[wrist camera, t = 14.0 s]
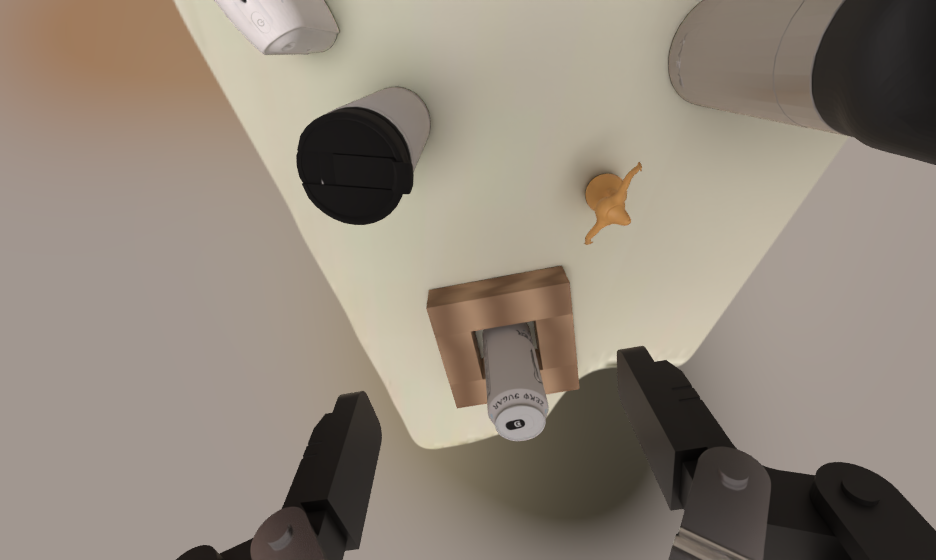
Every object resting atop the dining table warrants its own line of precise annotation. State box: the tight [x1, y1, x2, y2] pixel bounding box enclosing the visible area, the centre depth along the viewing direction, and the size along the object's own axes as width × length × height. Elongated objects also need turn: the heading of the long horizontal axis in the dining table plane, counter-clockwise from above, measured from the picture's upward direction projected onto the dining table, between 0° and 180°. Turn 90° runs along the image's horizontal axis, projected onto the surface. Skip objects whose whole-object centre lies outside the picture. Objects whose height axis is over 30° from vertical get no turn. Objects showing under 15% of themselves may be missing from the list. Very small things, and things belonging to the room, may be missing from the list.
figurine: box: [585, 162, 642, 245], centre depth 37 cm, size 8×6×12 cm
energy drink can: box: [483, 322, 548, 441], centre depth 45 cm, size 6×6×15 cm
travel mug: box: [296, 87, 431, 225], centre depth 30 cm, size 6×7×20 cm
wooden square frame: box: [426, 266, 579, 408], centre depth 49 cm, size 16×16×4 cm
